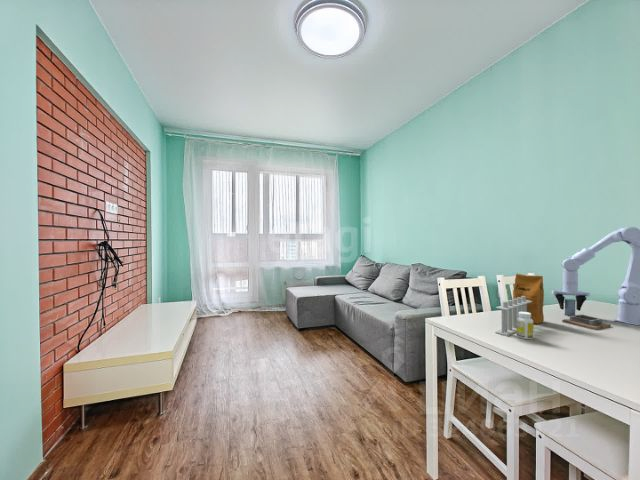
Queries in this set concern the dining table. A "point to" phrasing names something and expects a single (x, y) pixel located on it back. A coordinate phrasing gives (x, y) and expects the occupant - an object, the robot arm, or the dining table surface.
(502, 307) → the test tube rack
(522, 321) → the supplement bottle
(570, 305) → the tube
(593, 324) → the holder
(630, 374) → the dining table surface
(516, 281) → the coffee package
